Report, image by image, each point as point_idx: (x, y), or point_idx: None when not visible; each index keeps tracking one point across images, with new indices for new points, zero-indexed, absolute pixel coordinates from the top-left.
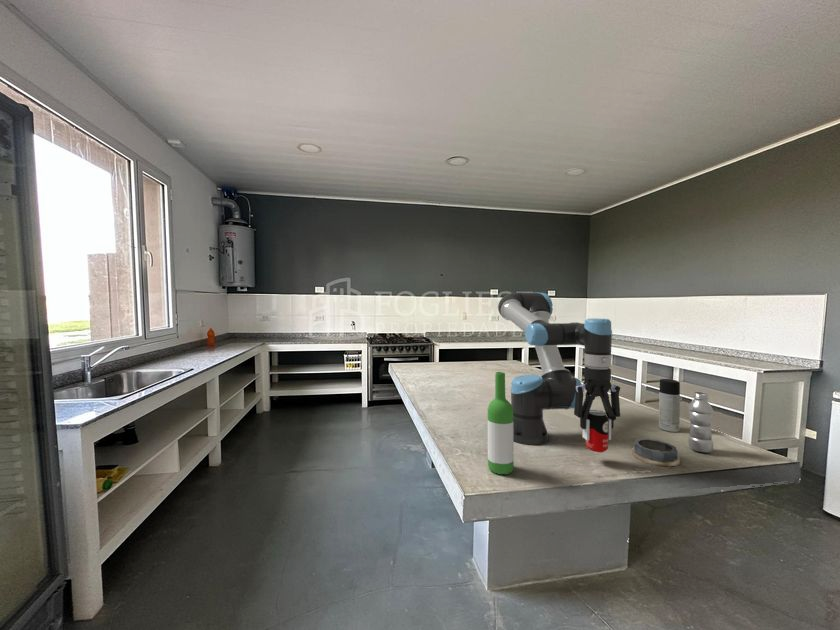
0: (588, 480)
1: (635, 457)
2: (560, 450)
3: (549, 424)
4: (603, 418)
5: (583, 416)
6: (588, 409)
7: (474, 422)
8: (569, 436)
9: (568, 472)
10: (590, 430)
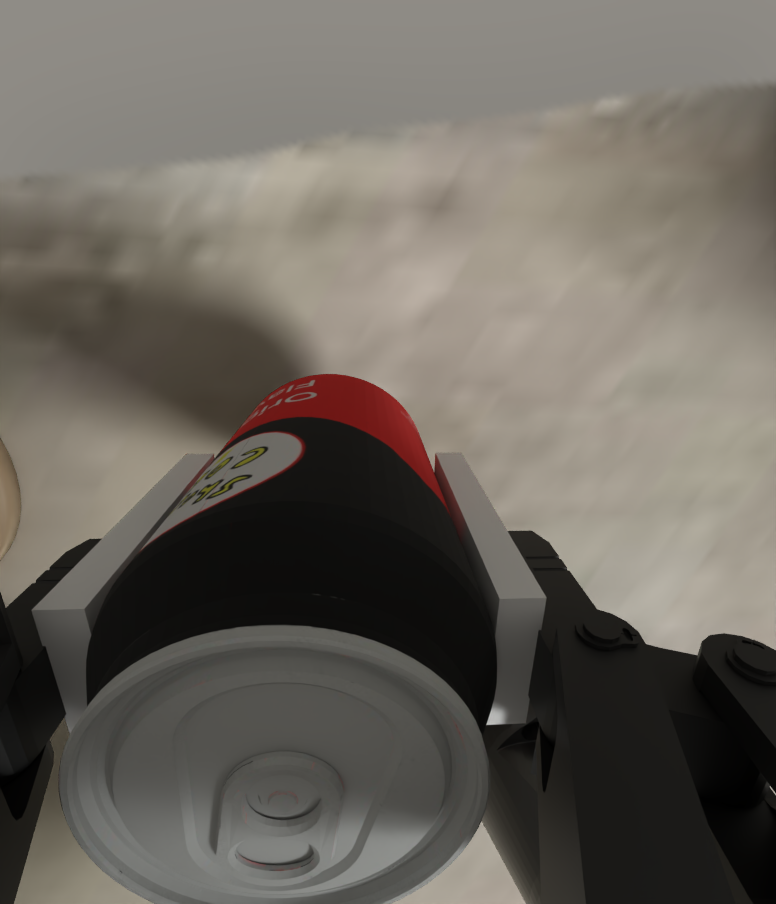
0: (558, 145)
1: (15, 474)
2: None
3: None
4: (240, 561)
5: (645, 665)
6: (635, 855)
7: None
8: None
9: (623, 281)
10: (444, 500)
